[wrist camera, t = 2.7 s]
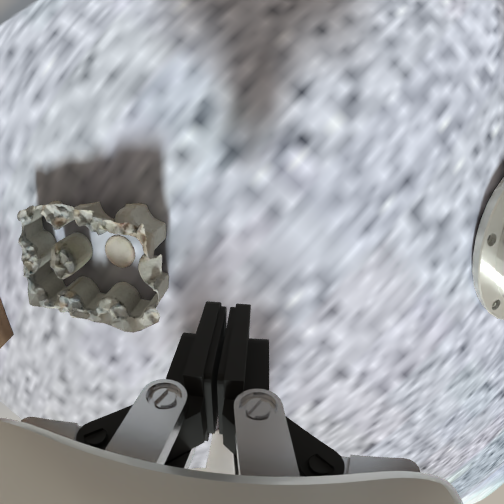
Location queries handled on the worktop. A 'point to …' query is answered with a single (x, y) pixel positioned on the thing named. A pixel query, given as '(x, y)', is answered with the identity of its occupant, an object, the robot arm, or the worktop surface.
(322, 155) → the worktop surface
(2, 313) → the walnut board
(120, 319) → the egg carton
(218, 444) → the white plastic bottle
